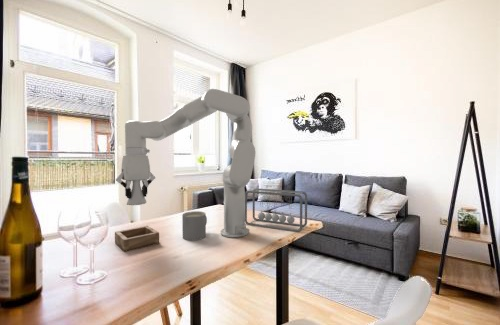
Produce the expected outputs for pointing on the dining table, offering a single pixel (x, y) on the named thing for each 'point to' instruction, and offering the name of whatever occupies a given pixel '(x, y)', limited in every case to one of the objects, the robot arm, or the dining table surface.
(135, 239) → the walnut well
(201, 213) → the coffee mug
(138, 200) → the flask
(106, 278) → the dining table surface
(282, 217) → the newton's cradle
